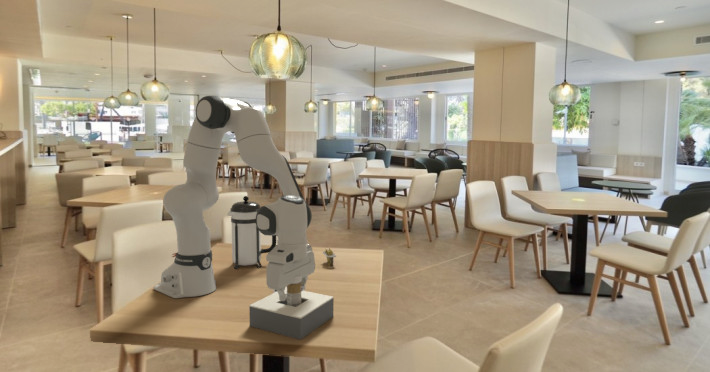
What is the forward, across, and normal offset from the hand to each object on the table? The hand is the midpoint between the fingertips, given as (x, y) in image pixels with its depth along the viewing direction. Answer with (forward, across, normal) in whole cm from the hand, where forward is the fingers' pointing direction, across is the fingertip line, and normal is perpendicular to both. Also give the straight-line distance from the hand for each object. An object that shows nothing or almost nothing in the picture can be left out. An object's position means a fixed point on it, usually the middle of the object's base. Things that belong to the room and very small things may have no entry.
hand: (292, 295), depth 135 cm
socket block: (+8, 0, 0) cm, 8 cm away
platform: (+9, -58, -22) cm, 62 cm away
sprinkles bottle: (+7, 0, 0) cm, 7 cm away
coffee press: (+8, -39, -50) cm, 64 cm away
